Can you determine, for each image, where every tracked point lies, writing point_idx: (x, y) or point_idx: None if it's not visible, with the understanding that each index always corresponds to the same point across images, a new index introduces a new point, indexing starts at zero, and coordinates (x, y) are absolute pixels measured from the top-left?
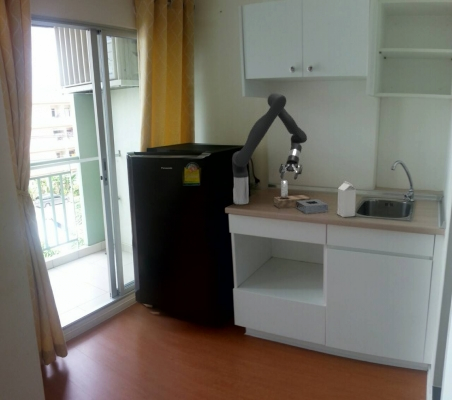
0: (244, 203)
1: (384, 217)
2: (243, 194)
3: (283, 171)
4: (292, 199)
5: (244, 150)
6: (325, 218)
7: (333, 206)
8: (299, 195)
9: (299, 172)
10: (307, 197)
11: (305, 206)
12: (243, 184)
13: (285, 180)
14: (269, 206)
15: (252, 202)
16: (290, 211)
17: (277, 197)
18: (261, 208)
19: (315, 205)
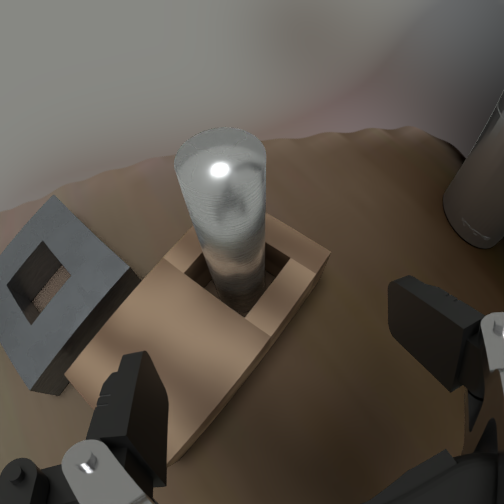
0: (444, 196)
1: None
2: (467, 160)
3: (482, 342)
4: (159, 266)
5: None
6: (5, 211)
7: (3, 424)
8: (179, 431)
9: (38, 470)
10: (88, 388)
11: (54, 195)
12: (492, 116)
13: (216, 175)
14: (317, 233)
15: (454, 255)
16: (148, 211)
17: (302, 259)
18: (320, 179)
19: (16, 235)
